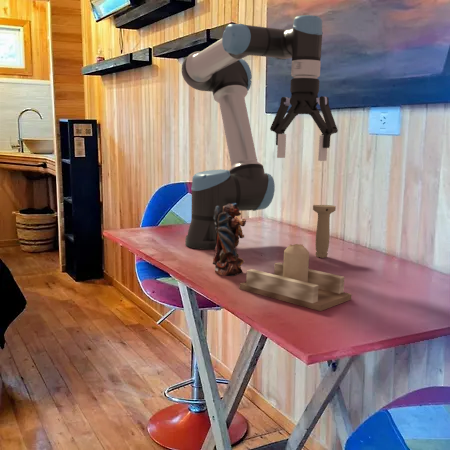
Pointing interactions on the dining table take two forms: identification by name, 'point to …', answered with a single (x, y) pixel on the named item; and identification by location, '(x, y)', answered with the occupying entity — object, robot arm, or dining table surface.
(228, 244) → the figurine
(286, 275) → the candle
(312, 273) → the rack
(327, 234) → the handle
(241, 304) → the dining table surface
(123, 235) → the dining table surface
